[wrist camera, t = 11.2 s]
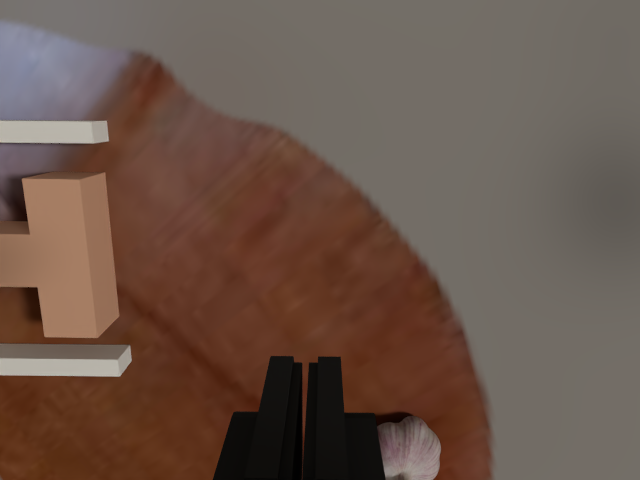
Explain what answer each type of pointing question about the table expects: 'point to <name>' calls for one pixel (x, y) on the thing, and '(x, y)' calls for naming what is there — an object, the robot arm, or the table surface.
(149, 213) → the table surface
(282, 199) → the table surface
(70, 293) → the t block
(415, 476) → the garlic bulb
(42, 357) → the frame
